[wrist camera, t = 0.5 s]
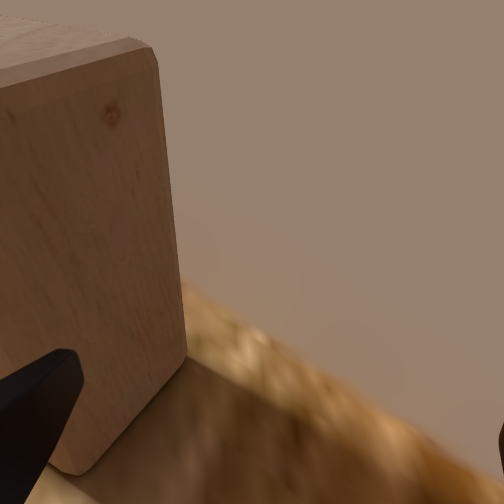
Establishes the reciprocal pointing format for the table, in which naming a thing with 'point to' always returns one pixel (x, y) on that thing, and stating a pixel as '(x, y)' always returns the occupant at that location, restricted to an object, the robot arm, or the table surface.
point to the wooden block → (87, 224)
